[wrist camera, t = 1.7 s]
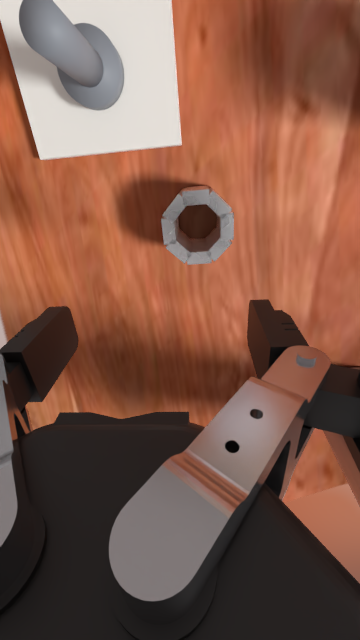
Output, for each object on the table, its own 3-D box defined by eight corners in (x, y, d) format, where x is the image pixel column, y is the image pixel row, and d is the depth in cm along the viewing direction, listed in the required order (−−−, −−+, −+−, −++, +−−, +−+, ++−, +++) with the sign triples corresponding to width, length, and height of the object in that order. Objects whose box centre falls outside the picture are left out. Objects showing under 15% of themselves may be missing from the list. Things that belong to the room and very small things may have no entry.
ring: (227, 183, 25) (233, 186, 20) (227, 246, 27) (233, 261, 23) (165, 189, 25) (158, 193, 21) (171, 250, 28) (166, 265, 23)
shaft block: (169, -30, 19) (148, -180, 10) (181, 145, 23) (173, 134, 15) (2, -2, 20) (-133, -120, 12) (46, 159, 24) (-27, 156, 16)
